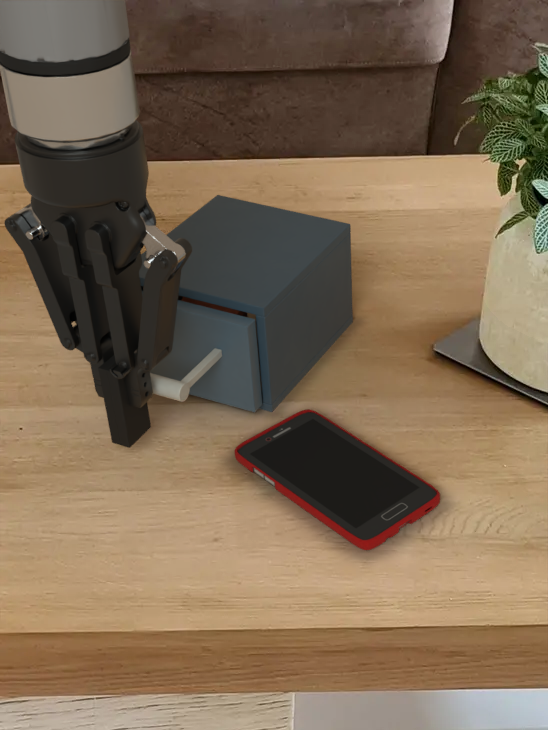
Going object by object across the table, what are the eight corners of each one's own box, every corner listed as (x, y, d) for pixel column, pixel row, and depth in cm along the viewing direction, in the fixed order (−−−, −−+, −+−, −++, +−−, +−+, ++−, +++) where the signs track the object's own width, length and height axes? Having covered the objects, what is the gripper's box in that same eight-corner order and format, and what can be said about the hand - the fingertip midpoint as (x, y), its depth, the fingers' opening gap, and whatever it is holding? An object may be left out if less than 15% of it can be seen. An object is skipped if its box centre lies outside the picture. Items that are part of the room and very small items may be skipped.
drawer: (212, 458, 85) (202, 370, 80) (82, 420, 88) (64, 333, 84) (333, 327, 100) (330, 245, 95) (217, 298, 103) (208, 218, 98)
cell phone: (366, 556, 79) (366, 546, 78) (229, 459, 86) (228, 448, 86) (445, 503, 83) (445, 493, 83) (308, 415, 91) (308, 405, 90)
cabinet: (272, 413, 91) (263, 308, 85) (135, 375, 95) (118, 271, 89) (353, 322, 102) (350, 223, 96) (227, 291, 106) (217, 194, 100)
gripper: (204, 121, 71) (236, 428, 86) (28, 85, 75) (87, 386, 89) (133, 168, 66) (180, 489, 80) (-53, 127, 69) (24, 440, 84)
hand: (131, 434), depth 85 cm, fingers closed
